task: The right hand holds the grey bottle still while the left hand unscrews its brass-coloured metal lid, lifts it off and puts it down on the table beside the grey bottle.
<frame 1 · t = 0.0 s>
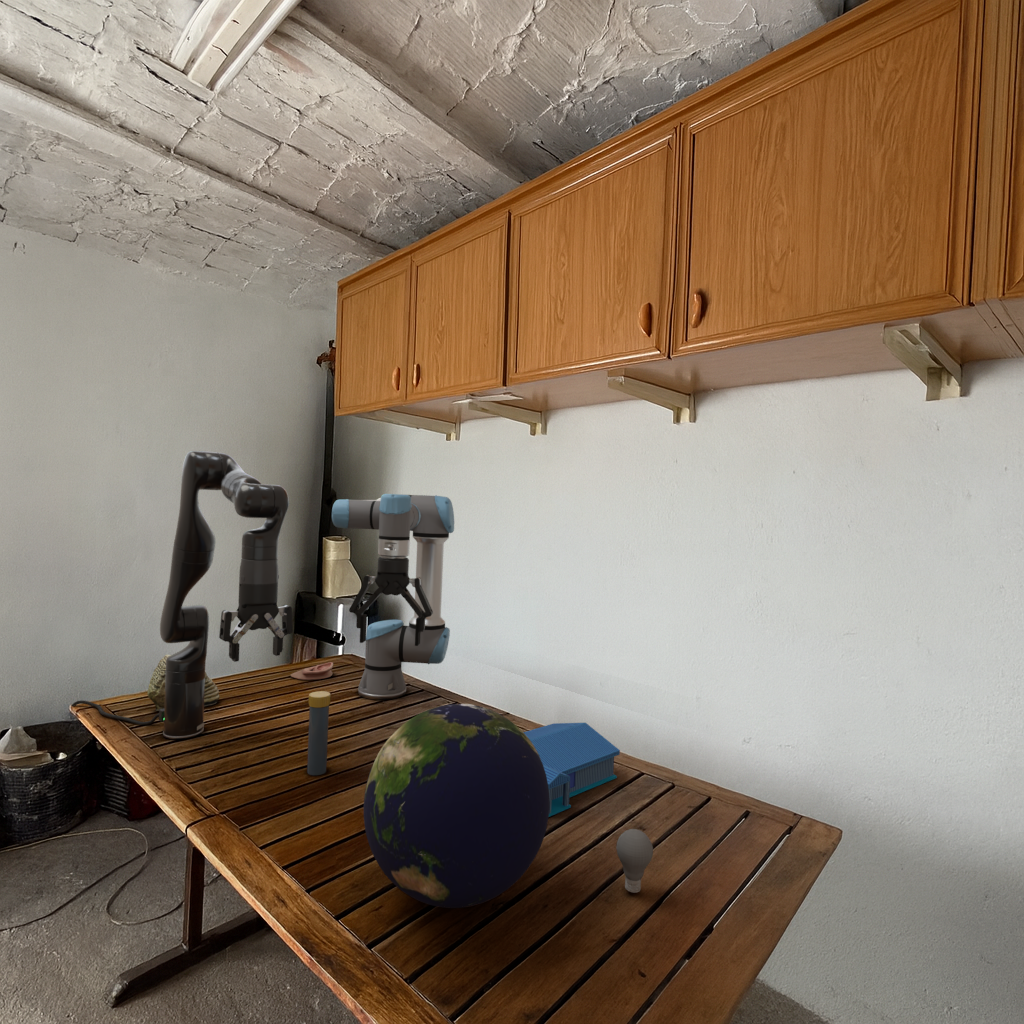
left hand: (256, 657, 132), 29 cm above the table, tool pointing down, fingers open, 8 cm apart
right hand: (390, 643, 155), 28 cm above the table, tool pointing down, fingers open, 13 cm apart
grey bottle: (316, 771, 146), on the table
anatomical model: (311, 676, 221), on the table
light bulb: (632, 891, 106), on the table
model building: (530, 787, 143), on the table
fossil: (183, 706, 185), on the table
globe: (453, 892, 103), on the table
lid: (319, 695, 145), point 18 cm above the table, screwed on, not yet turned
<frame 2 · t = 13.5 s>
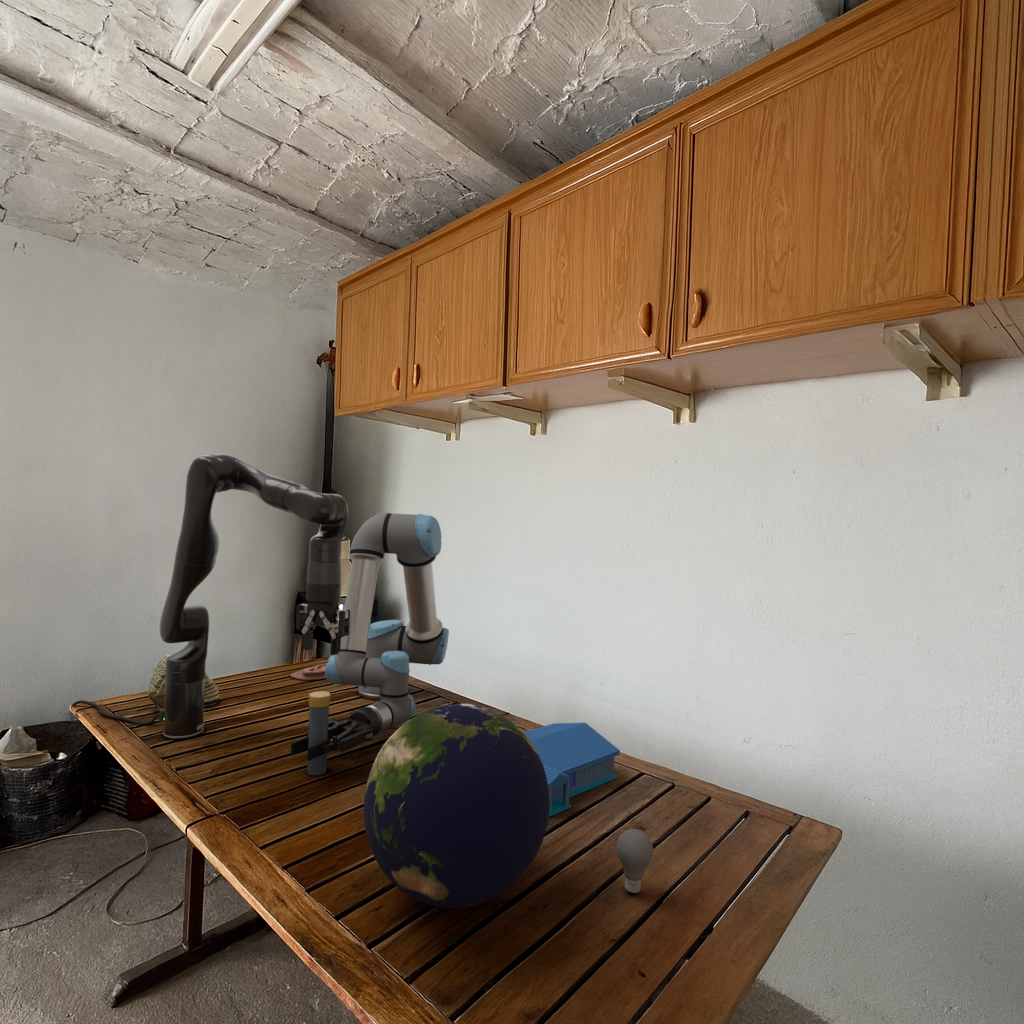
left hand: (321, 652, 145), 28 cm above the table, tool pointing down, fingers open, 7 cm apart
right hand: (300, 751, 141), 6 cm above the table, tool horizontal, fingers closed on grey bottle, 4 cm apart
grey bottle: (316, 771, 146), on the table, touching right hand
everything else where it was.
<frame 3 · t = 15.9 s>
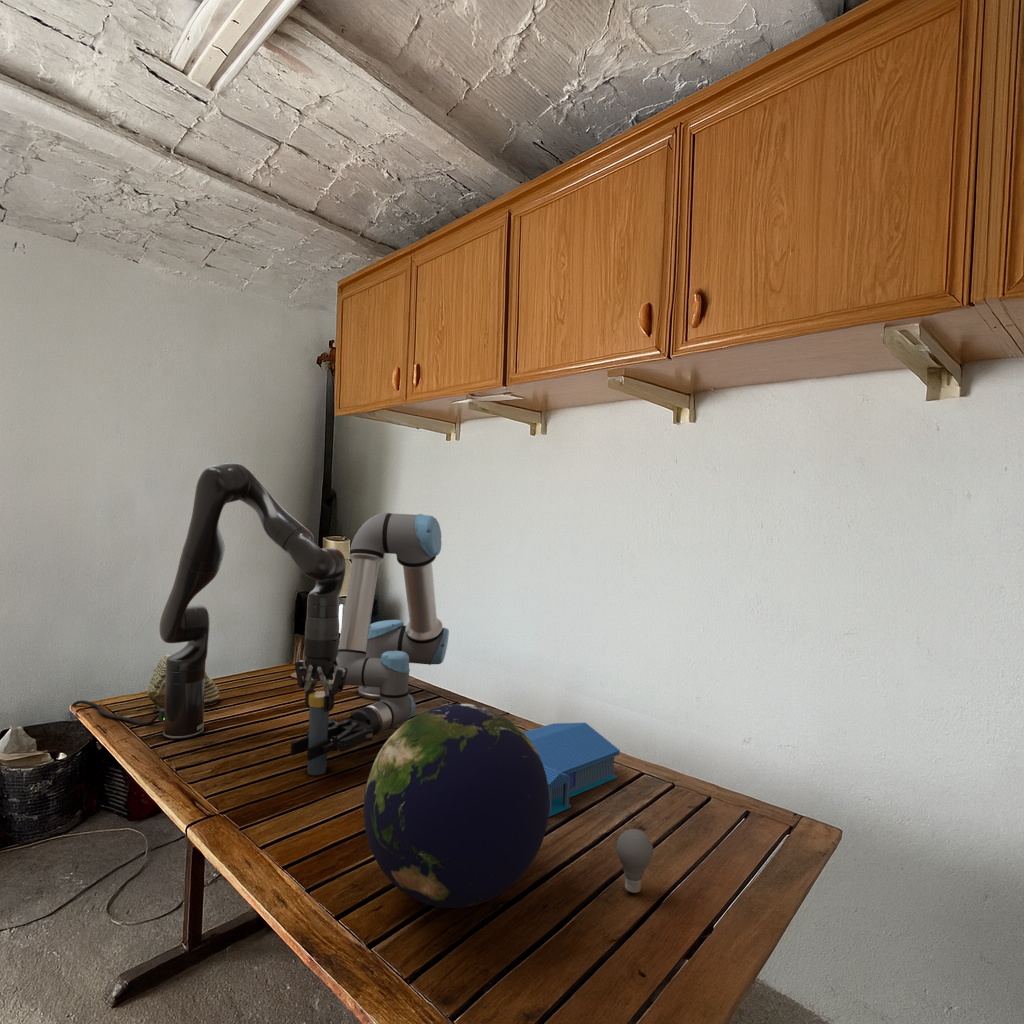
left hand: (319, 708, 146), 15 cm above the table, tool pointing down, fingers closed on lid, 4 cm apart
right hand: (300, 751, 141), 6 cm above the table, tool horizontal, fingers closed on grey bottle, 4 cm apart
grey bottle: (316, 771, 146), on the table, touching right hand
lid: (319, 695, 145), point 18 cm above the table, screwed on, not yet turned, touching left hand
everything else where it was.
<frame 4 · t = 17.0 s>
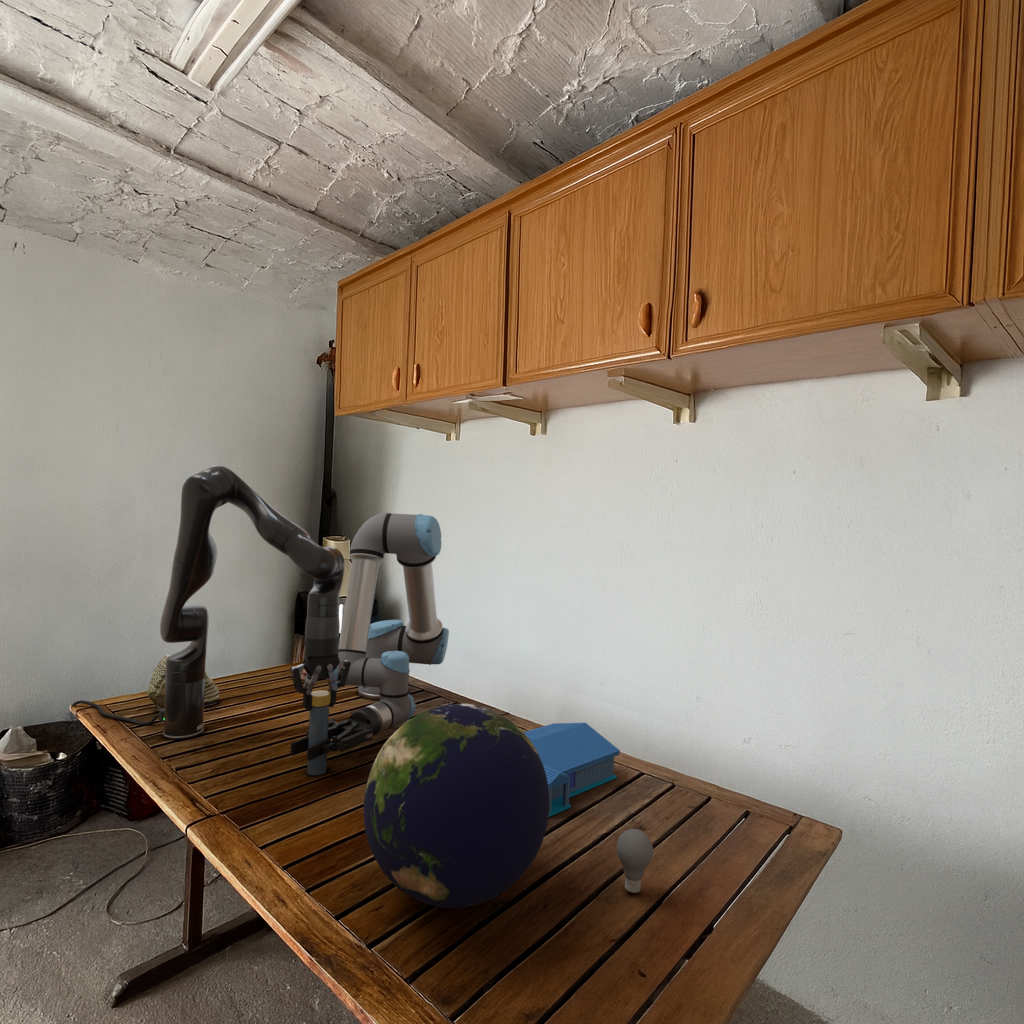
left hand: (319, 707, 146), 15 cm above the table, tool pointing down, fingers closed on lid, 4 cm apart
right hand: (300, 751, 141), 6 cm above the table, tool horizontal, fingers closed on grey bottle, 4 cm apart
grey bottle: (316, 771, 146), on the table, touching right hand
lid: (319, 694, 146), point 18 cm above the table, turned 63° so far, risen 0.2 cm, still on its thread, touching left hand
everything else where it was.
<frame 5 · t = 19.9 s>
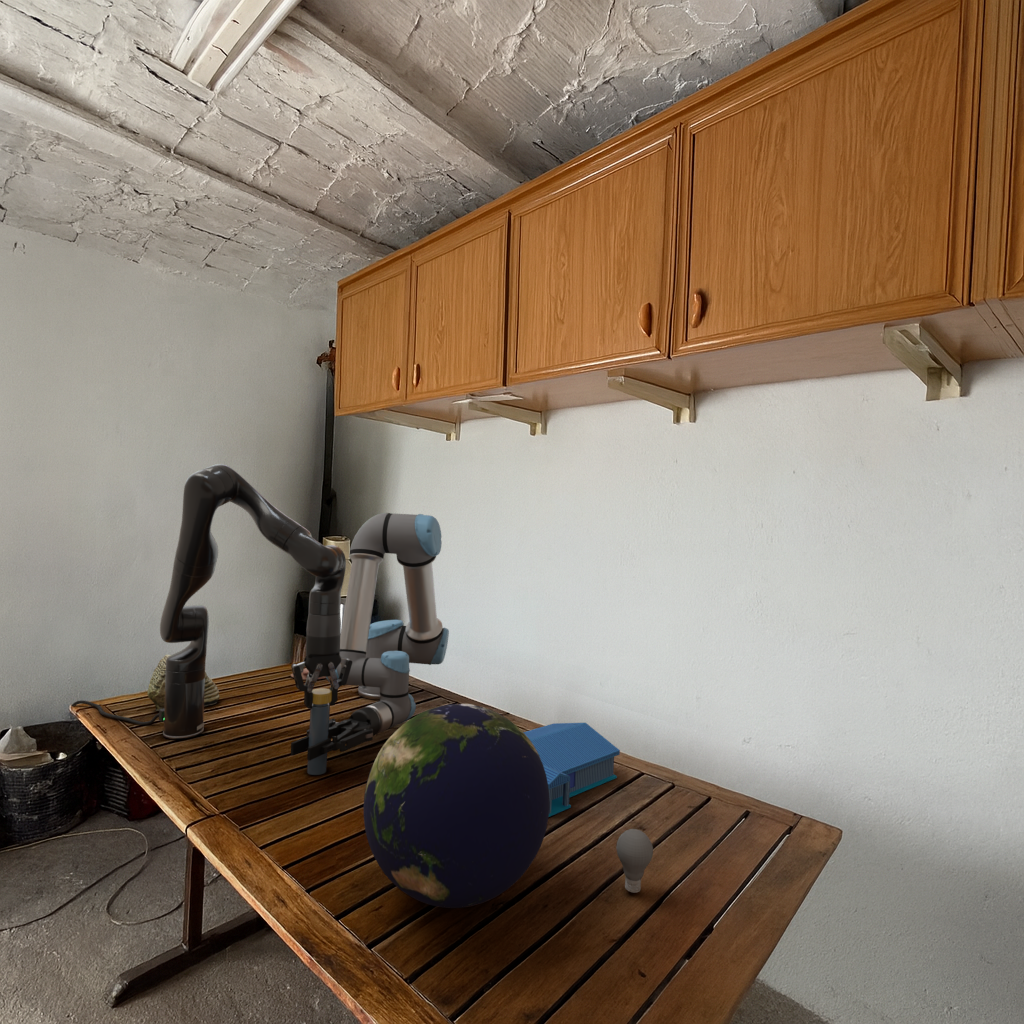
left hand: (320, 705, 146), 15 cm above the table, tool pointing down, fingers closed on lid, 4 cm apart
right hand: (300, 751, 141), 6 cm above the table, tool horizontal, fingers closed on grey bottle, 4 cm apart
grey bottle: (316, 771, 146), on the table, touching left hand, right hand
lid: (321, 692, 146), point 18 cm above the table, off its thread, touching left hand
everything else where it was.
when the left hand's fingers open (0 cm above the table, at t = 26.7 s): lid drops 1 cm, point 2 cm above the table.
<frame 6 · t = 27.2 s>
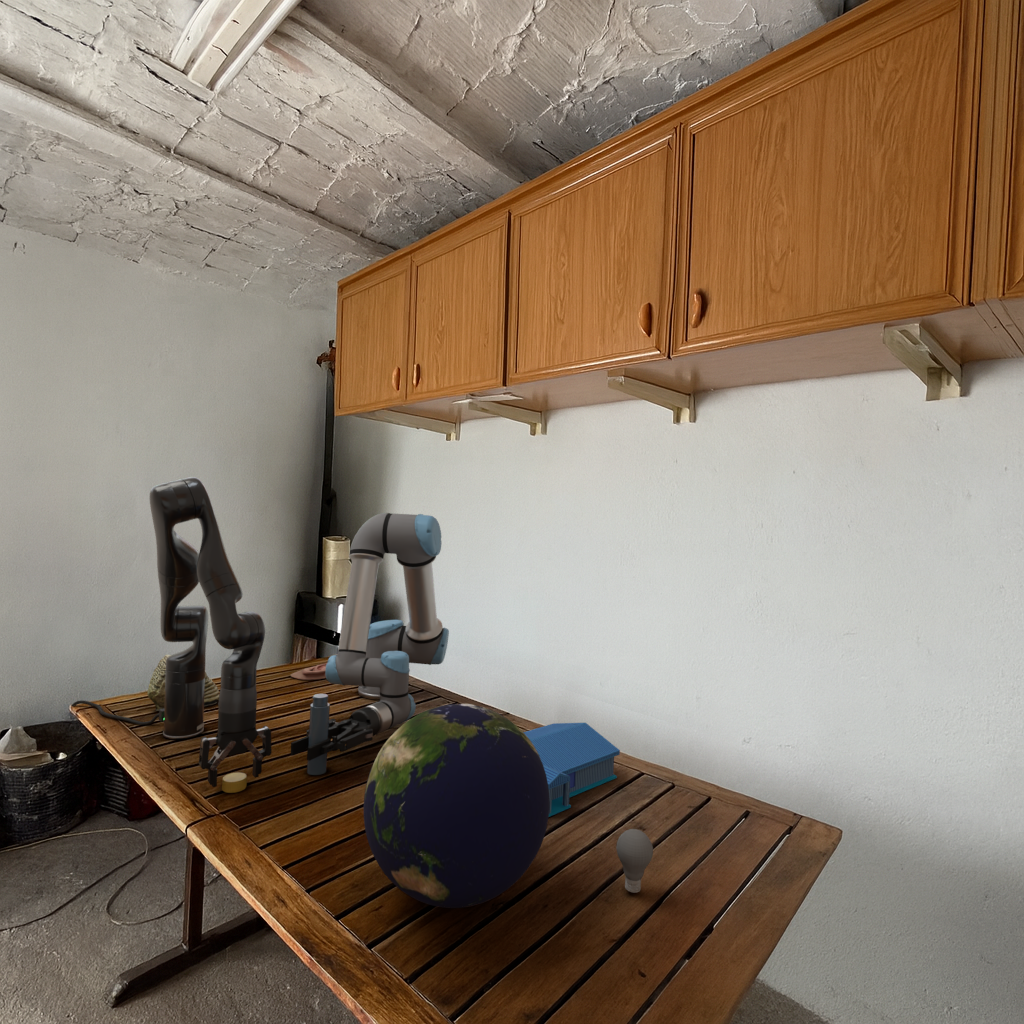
left hand: (235, 780, 136), 1 cm above the table, tool pointing down, fingers open, 8 cm apart
right hand: (300, 751, 141), 6 cm above the table, tool horizontal, fingers closed on grey bottle, 4 cm apart
grey bottle: (316, 771, 146), on the table, touching right hand
lid: (234, 778, 136), point 2 cm above the table, off its thread
everything else where it was.
when the right hand's fingers open (6 cm above the table, at t = 27.6 s): grey bottle stays where it is, on the table.
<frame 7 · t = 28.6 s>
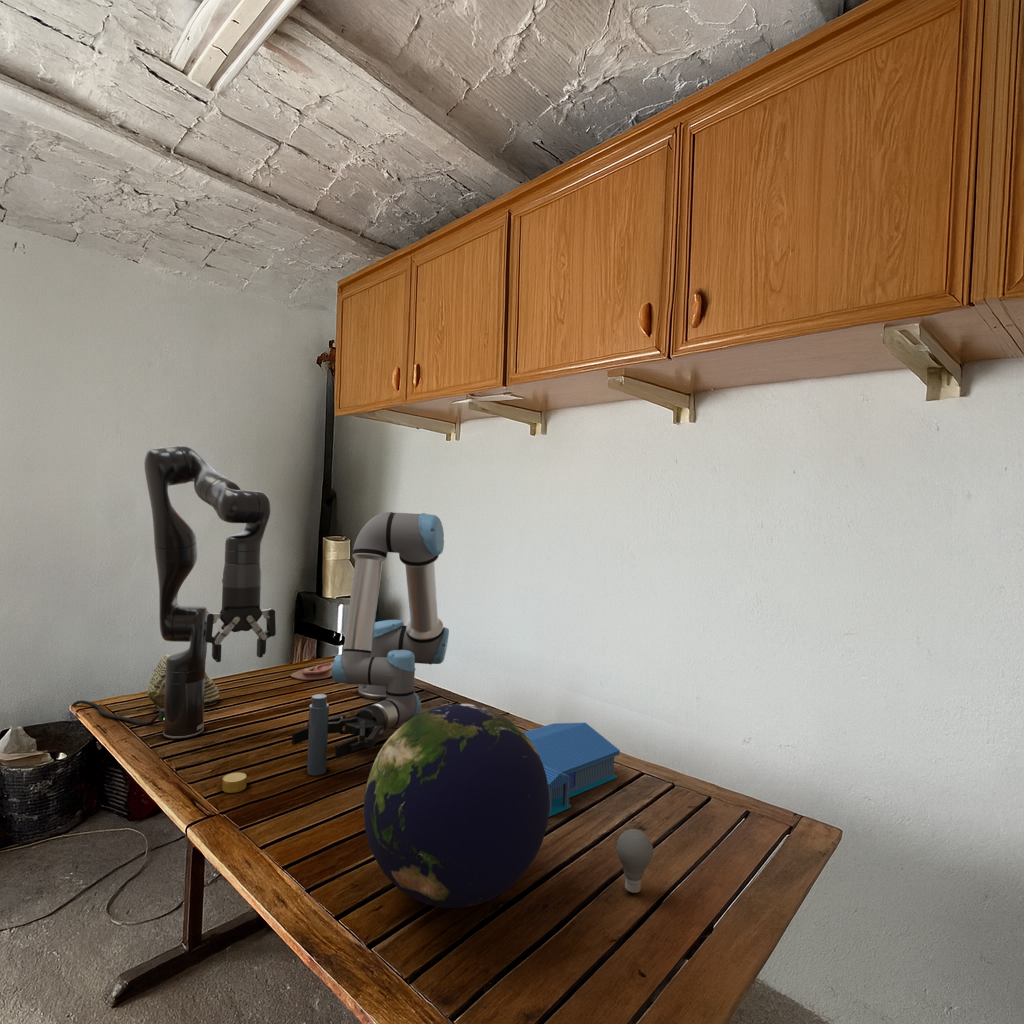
left hand: (239, 659, 136), 28 cm above the table, tool pointing down, fingers open, 8 cm apart
right hand: (314, 745, 145), 6 cm above the table, tool horizontal, fingers open, 13 cm apart
grey bottle: (316, 771, 146), on the table
everything else where it was.
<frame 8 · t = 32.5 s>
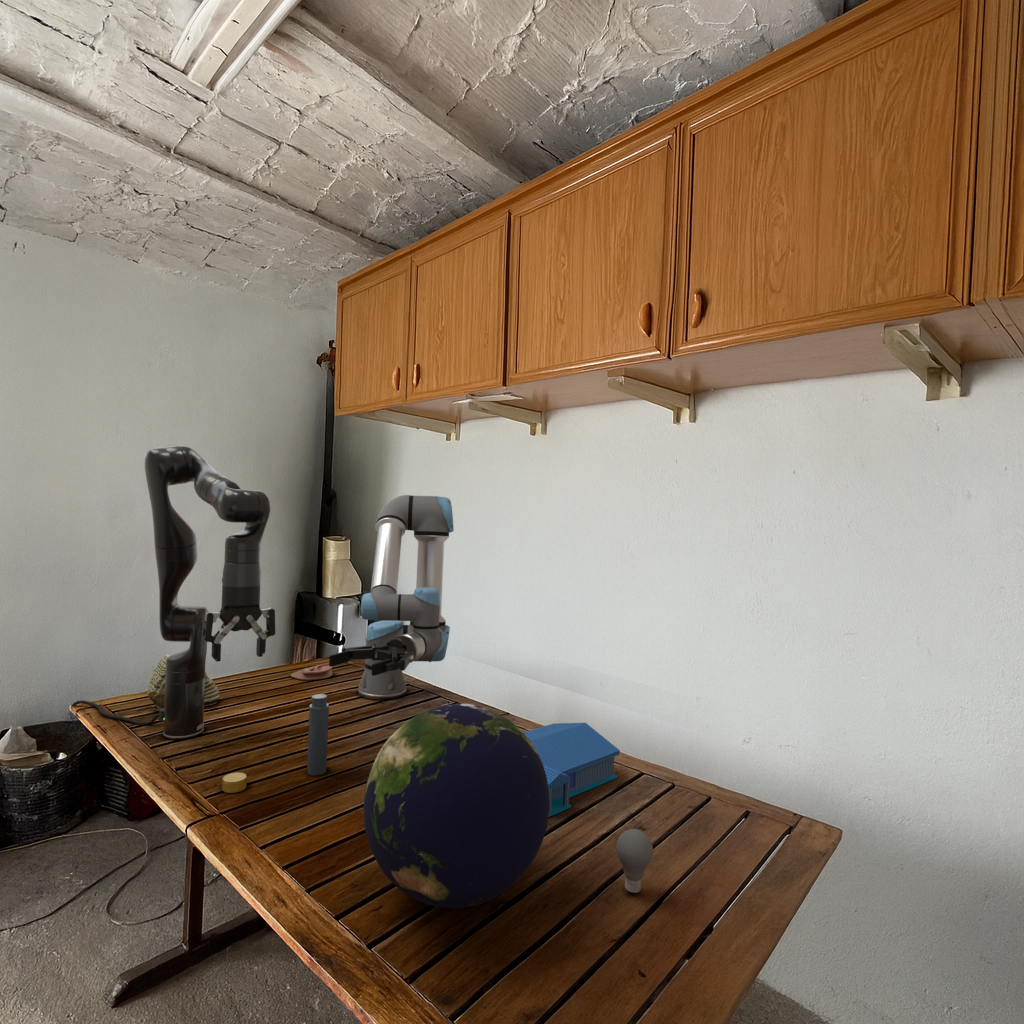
left hand: (238, 658, 136), 28 cm above the table, tool pointing down, fingers open, 8 cm apart
right hand: (351, 665, 154), 22 cm above the table, tool horizontal, fingers open, 13 cm apart
nothing on the table moved.
at the end: lid came off its thread; lid point 2.0 cm above the table; the left hand is holding nothing; the right hand is holding nothing; grey bottle tilted 0°; grey bottle moved 0.1 cm from its start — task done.
